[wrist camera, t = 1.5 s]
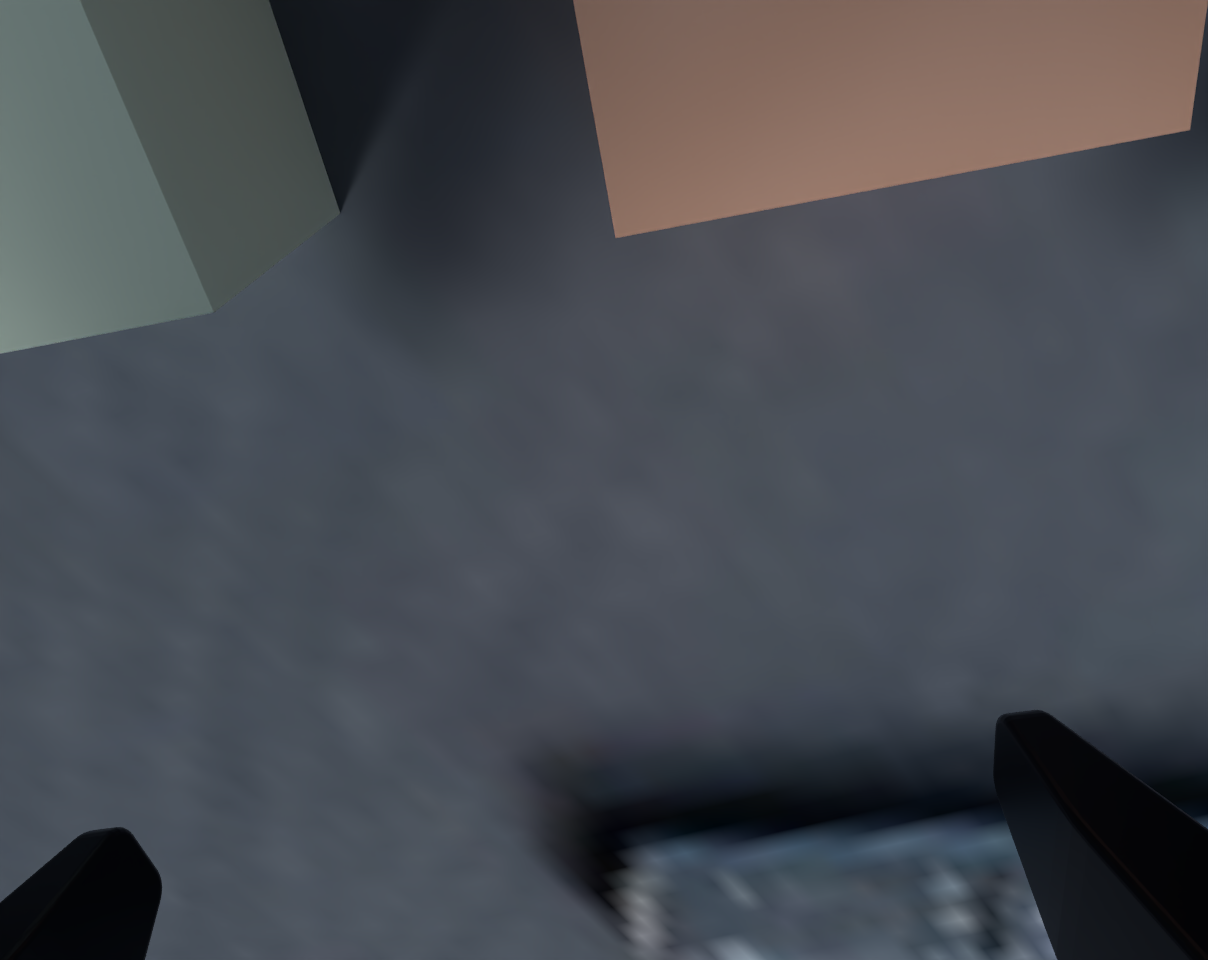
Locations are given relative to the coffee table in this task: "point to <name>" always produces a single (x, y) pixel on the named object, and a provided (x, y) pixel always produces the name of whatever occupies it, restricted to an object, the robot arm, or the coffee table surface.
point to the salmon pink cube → (865, 93)
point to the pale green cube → (145, 162)
